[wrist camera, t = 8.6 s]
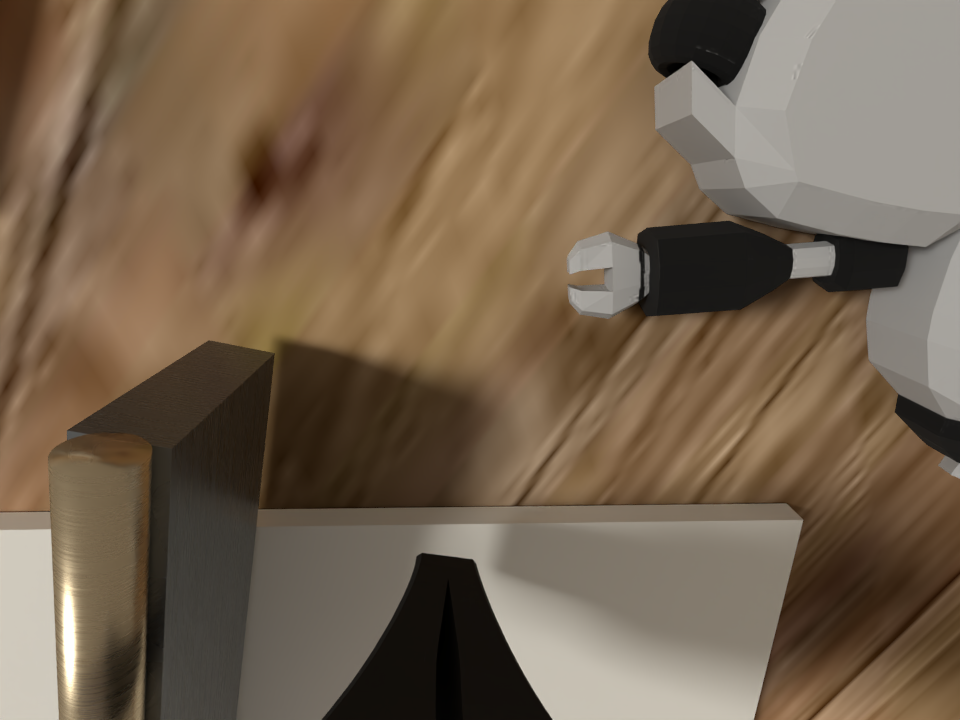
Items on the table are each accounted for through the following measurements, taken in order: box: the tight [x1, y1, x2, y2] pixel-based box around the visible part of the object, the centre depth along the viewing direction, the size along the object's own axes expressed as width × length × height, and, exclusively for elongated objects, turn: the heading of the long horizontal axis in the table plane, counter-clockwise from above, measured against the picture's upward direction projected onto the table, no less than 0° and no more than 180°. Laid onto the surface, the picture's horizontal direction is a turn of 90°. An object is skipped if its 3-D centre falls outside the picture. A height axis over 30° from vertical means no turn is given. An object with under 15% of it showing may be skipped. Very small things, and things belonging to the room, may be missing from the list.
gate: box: [48, 341, 275, 720], centre depth 12 cm, size 2×14×6 cm, turn 168°
